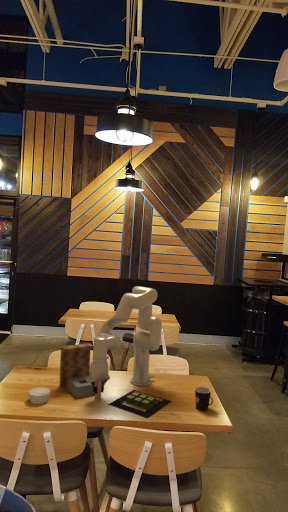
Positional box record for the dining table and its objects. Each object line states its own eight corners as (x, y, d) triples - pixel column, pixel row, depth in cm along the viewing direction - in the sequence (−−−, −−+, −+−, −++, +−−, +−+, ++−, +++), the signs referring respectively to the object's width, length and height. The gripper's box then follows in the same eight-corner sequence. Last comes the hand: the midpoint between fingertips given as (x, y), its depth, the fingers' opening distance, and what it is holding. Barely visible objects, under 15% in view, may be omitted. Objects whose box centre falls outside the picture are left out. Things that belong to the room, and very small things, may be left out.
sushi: (171, 402, 208) (171, 395, 208) (147, 419, 187) (148, 412, 187) (134, 390, 222) (134, 384, 222) (107, 405, 201) (108, 398, 201)
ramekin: (30, 406, 194) (30, 396, 194) (26, 398, 204) (26, 388, 204) (52, 403, 199) (52, 393, 199) (47, 395, 209) (47, 385, 209)
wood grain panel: (87, 381, 231) (89, 343, 230) (91, 385, 226) (93, 345, 225) (59, 386, 221) (60, 346, 220) (63, 390, 216) (64, 349, 215)
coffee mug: (192, 404, 205) (193, 386, 205) (207, 404, 206) (208, 386, 206) (197, 414, 194) (198, 395, 193) (213, 414, 195) (214, 395, 194)
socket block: (86, 385, 225) (86, 375, 225) (96, 394, 213) (97, 383, 213) (67, 388, 218) (67, 378, 218) (76, 398, 207) (77, 387, 206)
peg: (99, 397, 209) (100, 375, 209) (101, 399, 207) (102, 377, 206) (94, 398, 208) (95, 376, 207) (96, 400, 205) (97, 378, 204)
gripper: (109, 355, 214) (108, 387, 215) (83, 359, 205) (81, 392, 206) (116, 359, 208) (114, 392, 208) (88, 363, 199) (87, 397, 199)
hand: (98, 392), depth 207 cm, fingers closed on peg, 3 cm apart
